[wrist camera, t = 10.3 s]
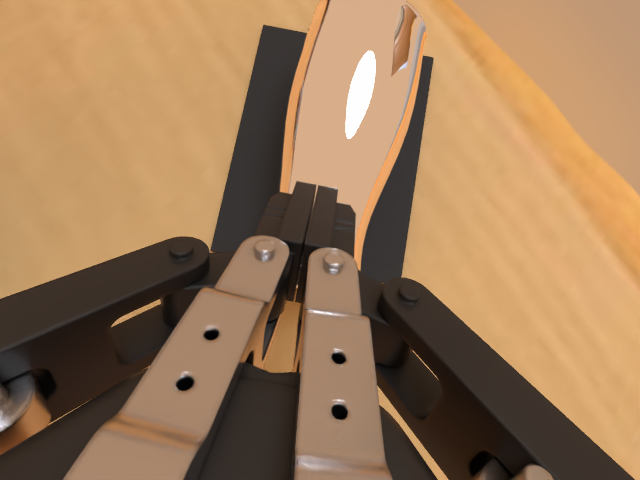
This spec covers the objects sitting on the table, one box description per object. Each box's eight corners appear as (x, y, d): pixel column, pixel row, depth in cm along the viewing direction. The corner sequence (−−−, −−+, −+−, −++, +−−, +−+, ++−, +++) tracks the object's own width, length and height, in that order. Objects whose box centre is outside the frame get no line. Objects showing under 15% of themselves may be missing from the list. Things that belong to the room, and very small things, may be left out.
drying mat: (398, 286, 22) (399, 286, 22) (211, 251, 22) (210, 250, 22) (432, 60, 25) (433, 57, 24) (263, 27, 25) (263, 24, 24)
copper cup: (306, 282, 24) (358, 77, 25) (392, 309, 19) (452, 52, 20) (216, 264, 19) (285, 11, 20) (299, 292, 14) (385, -44, 15)
